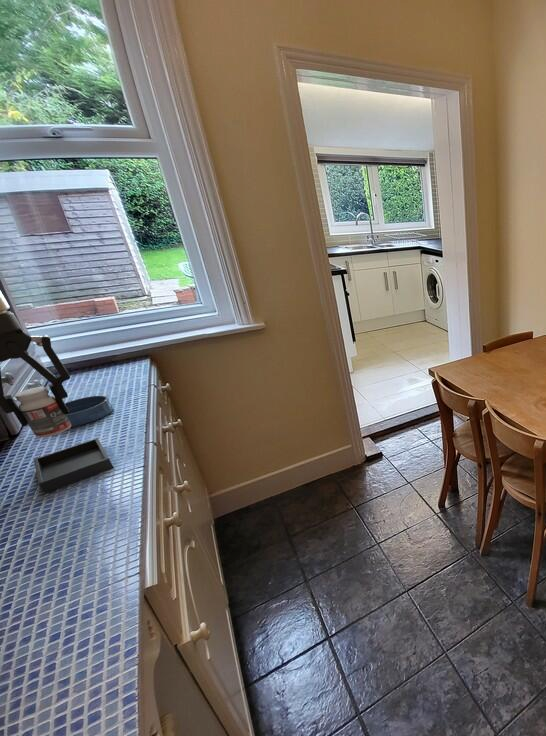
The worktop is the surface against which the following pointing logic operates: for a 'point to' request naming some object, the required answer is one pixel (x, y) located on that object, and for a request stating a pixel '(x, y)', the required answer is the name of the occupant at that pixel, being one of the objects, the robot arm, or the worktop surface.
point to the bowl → (87, 409)
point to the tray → (71, 465)
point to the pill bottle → (42, 412)
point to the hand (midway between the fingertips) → (46, 417)
